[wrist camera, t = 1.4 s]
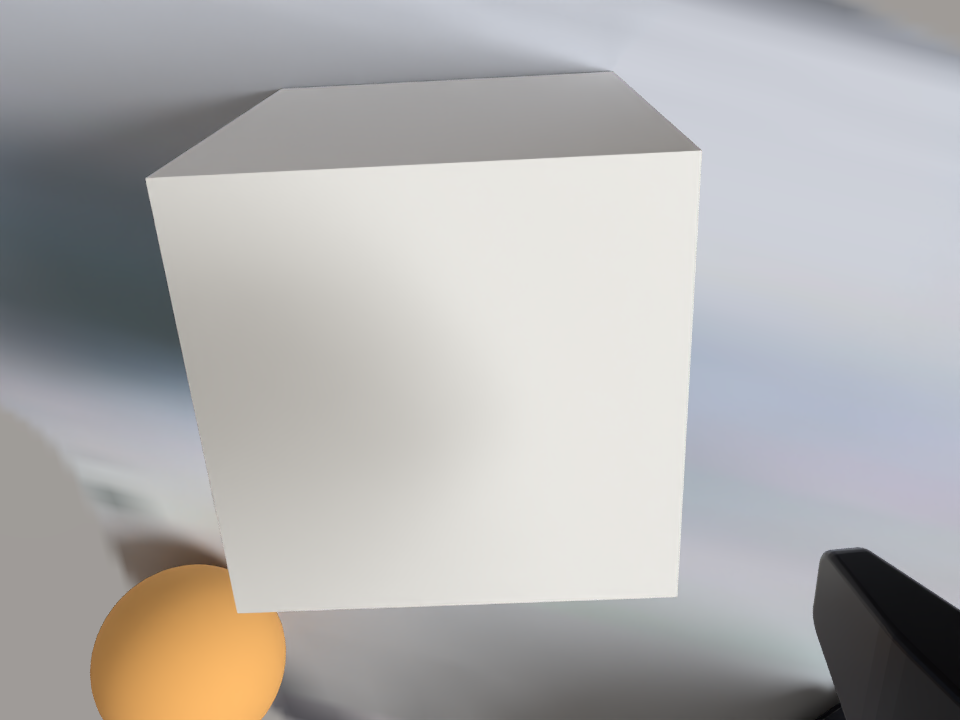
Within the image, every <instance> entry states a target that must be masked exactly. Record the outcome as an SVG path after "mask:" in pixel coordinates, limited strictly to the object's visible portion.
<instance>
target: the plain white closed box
mask: <svg viewBox="0 0 960 720" xmlns="http://www.w3.org/2000/svg"><path fill="white" fill-rule="evenodd" d="M701 159H702V150H701V149H700V148H699V147H697V146H696V145H695V144H694V143H693V142H692V141H691V140H690V139H689V138H687V137H686V136H685V135H684V134H683V133H682V132H681V131H680V130H678V129H677V128H676V127H675V126H674V125H673V124H672V123H671V122H669V121H668V120H667V119H666V118H665V117H664V116H663V115H662V114H660V113H659V112H658V111H657V110H656V109H655V108H654V107H653V106H651V105H650V104H649V103H648V102H647V101H646V100H645V99H644V98H642V97H641V96H640V95H639V94H638V93H637V92H636V91H635V90H633V89H632V88H631V87H630V86H629V85H628V84H627V83H626V82H624V81H623V80H622V79H621V78H620V77H619V76H618V75H617V74H615V73H614V72H613V71H612V72H593V73H574V74H554V75H535V76H516V77H497V78H478V79H458V80H439V81H420V82H401V83H381V84H362V85H343V86H324V87H305V88H285V89H280V90H279V91H277V92H276V93H274V94H273V95H271V96H270V97H268V98H267V99H265V100H264V101H262V102H260V103H259V104H257V105H256V106H254V107H253V108H251V109H250V110H248V111H247V112H245V113H244V114H242V115H241V116H239V117H238V118H236V119H235V120H233V121H232V122H230V123H228V124H227V125H225V126H224V127H222V128H221V129H219V130H218V131H216V132H215V133H213V134H212V135H210V136H209V137H207V138H206V139H204V140H203V141H201V142H200V143H198V144H197V145H195V146H193V147H192V148H190V149H189V150H187V151H186V152H184V153H183V154H181V155H180V156H178V157H177V158H175V159H174V160H172V161H171V162H169V163H168V164H166V165H165V166H163V167H161V168H160V169H158V170H157V171H155V172H154V173H152V174H151V175H149V176H148V177H146V178H145V179H146V184H147V189H148V194H149V198H150V203H151V208H152V212H153V217H154V222H155V227H156V231H157V236H158V241H159V246H160V250H161V255H162V260H163V264H164V269H165V274H166V279H167V283H168V288H169V293H170V298H171V302H172V307H173V312H174V316H175V321H176V326H177V331H178V335H179V340H180V345H181V349H182V354H183V359H184V364H185V368H186V373H187V378H188V383H189V387H190V392H191V397H192V401H193V406H194V411H195V416H196V420H197V425H198V430H199V435H200V439H201V444H202V449H203V453H204V458H205V463H206V468H207V472H208V477H209V482H210V486H211V491H212V496H213V501H214V505H215V510H216V515H217V520H218V524H219V529H220V534H221V538H222V543H223V548H224V553H225V557H226V562H227V567H228V572H229V576H230V581H231V586H232V590H233V595H234V600H235V605H236V609H237V613H262V612H289V611H316V610H343V609H370V608H396V607H423V606H450V605H477V604H503V603H530V602H557V601H584V600H610V599H637V598H664V597H677V592H678V574H679V556H680V538H681V520H682V502H683V484H684V466H685V448H686V430H687V412H688V394H689V376H690V358H691V340H692V322H693V304H694V286H695V268H696V249H697V231H698V213H699V195H700V177H701Z"/></svg>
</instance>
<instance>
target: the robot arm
mask: <svg viewBox="0 0 960 720" xmlns="http://www.w3.org/2000/svg"><path fill="white" fill-rule="evenodd" d="M813 620H814V626H815V630H816V633H817V636H818V639H819V642H820V645H821V648H822V651H823V654H824V657H825V660H826V663H827V665H828V668H829V671H830V674H831V677H832V680H833V683H834V686H835V689H836V692H837V695H838V697H839V700H840V703H839V704H838V705H836V706H835V707H833V708H832V709H830V710H829V711H827V712H826V713H824V714H823V715H822V716H820V717H819V718H817V719H816V720H960V610H959V609H958V608H956V607H955V606H953V605H952V604H950V603H949V602H947V601H946V600H944V599H943V598H941V597H939V596H938V595H936V594H935V593H933V592H932V591H930V590H929V589H927V588H926V587H924V586H923V585H921V584H920V583H918V582H917V581H915V580H914V579H912V578H911V577H909V576H908V575H906V574H905V573H903V572H901V571H900V570H898V569H897V568H895V567H894V566H892V565H891V564H889V563H888V562H886V561H885V560H883V559H882V558H880V557H879V556H877V555H876V554H874V553H873V552H871V551H869V550H867V549H865V548H859V547H856V548H845V549H835V550H828V551H826V552H825V553H824V554H823V555H822V557H821V559H820V563H819V569H818V576H817V584H816V591H815V598H814V605H813Z"/></svg>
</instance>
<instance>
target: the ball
mask: <svg viewBox="0 0 960 720" xmlns="http://www.w3.org/2000/svg"><path fill="white" fill-rule="evenodd" d="M285 659H286V645H285V637H284V632H283V628H282V624H281V621H280V619H279V617H278V614H277V612H262V613H237V609H236V605H235V600H234V595H233V590H232V586H231V581H230V576H229V572H228V569H225V568H222V567H217V566H212V565H204V564H193V565H184V566H179V567H174V568H170V569H167V570H164V571H161V572H159V573H157V574H154V575H152V576H150V577H148V578H146V579H145V580H143V581H142V582H140V583H139V584H137V585H136V586H134V587H133V588H132V589H130V590H129V591H128V592H127V593H126V594H125V595H124V596H123V597H122V598H121V599H120V600H119V601H118V602H117V603H116V605H115V606H114V607H113V609H112V610H111V611H110V613H109V614H108V616H107V617H106V619H105V621H104V622H103V624H102V626H101V628H100V631H99V633H98V635H97V638H96V641H95V644H94V648H93V652H92V658H91V669H90V676H91V677H90V678H91V688H92V693H93V697H94V700H95V703H96V706H97V708H98V711H99V713H100V715H101V717H102V718H103V720H261V719H262V718H263V717H264V716H265V714H266V713H267V711H268V710H269V708H270V706H271V705H272V703H273V701H274V699H275V697H276V695H277V693H278V690H279V687H280V685H281V682H282V678H283V674H284V668H285Z"/></svg>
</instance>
